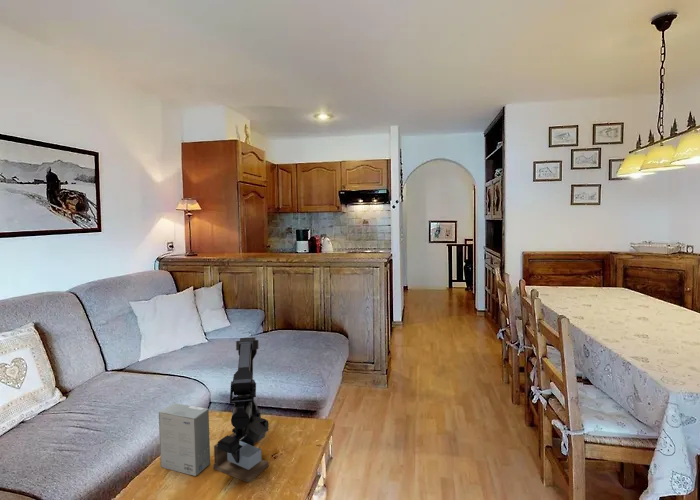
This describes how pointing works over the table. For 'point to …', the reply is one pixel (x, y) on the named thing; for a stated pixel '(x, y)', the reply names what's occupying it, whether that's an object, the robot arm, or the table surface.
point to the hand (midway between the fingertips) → (244, 457)
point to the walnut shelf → (236, 466)
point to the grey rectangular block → (247, 456)
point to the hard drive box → (184, 438)
